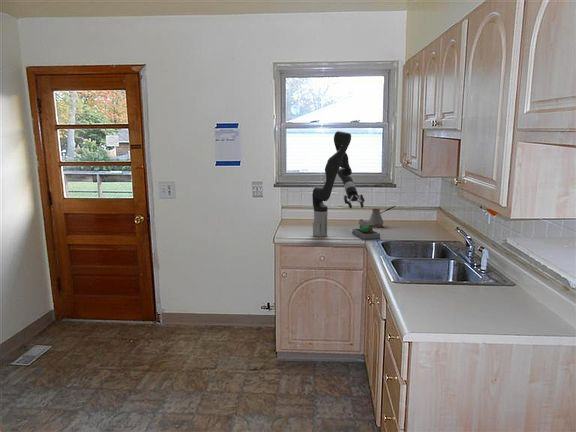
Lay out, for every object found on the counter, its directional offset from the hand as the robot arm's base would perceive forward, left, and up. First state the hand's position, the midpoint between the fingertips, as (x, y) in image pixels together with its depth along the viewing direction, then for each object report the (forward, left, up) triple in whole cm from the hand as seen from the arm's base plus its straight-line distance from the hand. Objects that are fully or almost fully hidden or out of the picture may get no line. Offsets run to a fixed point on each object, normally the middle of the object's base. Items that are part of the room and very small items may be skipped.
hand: (356, 207), depth 305 cm
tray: (-8, -13, -17) cm, 23 cm away
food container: (-9, -12, -17) cm, 22 cm away
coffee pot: (+28, -3, -17) cm, 34 cm away
